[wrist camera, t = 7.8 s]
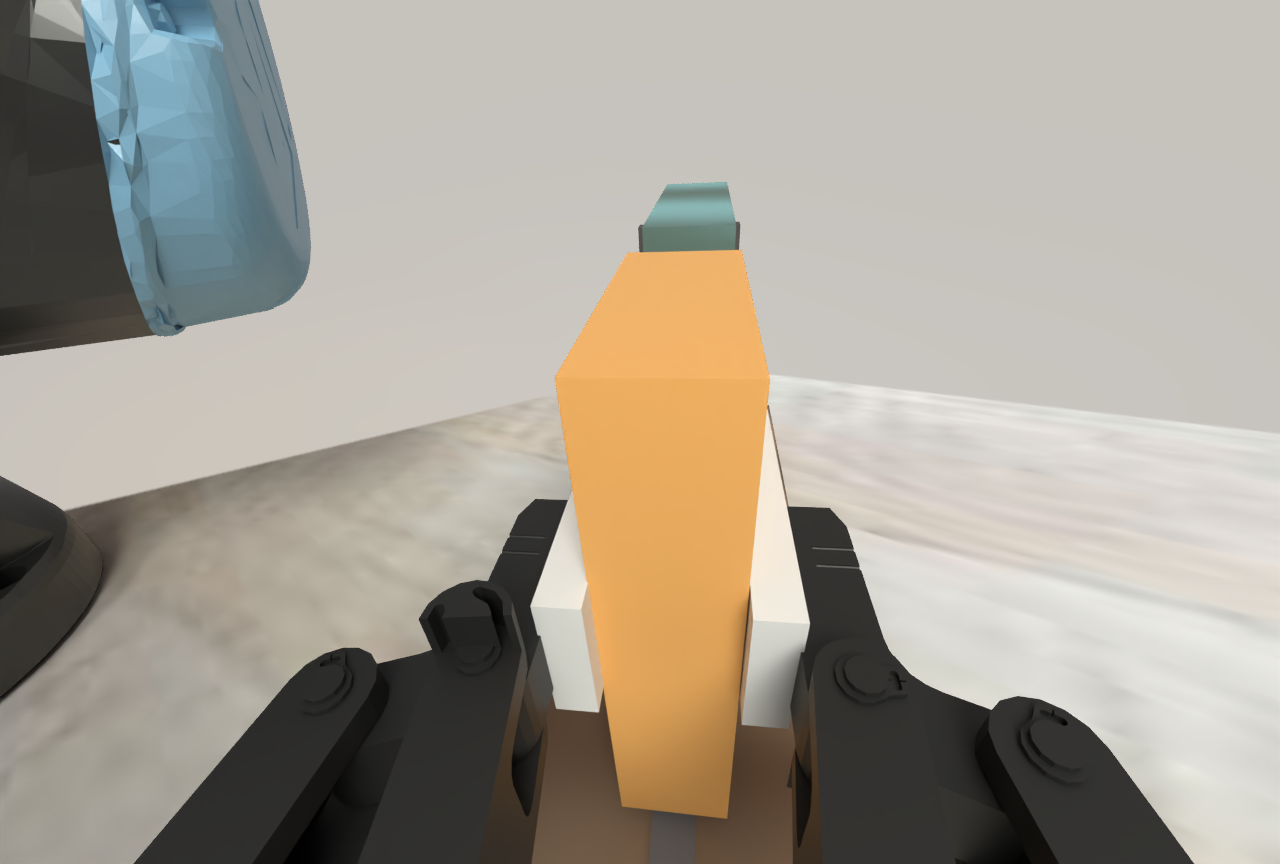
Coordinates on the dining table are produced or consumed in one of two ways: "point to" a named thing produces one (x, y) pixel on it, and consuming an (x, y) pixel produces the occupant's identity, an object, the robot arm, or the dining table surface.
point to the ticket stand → (580, 740)
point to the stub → (669, 512)
